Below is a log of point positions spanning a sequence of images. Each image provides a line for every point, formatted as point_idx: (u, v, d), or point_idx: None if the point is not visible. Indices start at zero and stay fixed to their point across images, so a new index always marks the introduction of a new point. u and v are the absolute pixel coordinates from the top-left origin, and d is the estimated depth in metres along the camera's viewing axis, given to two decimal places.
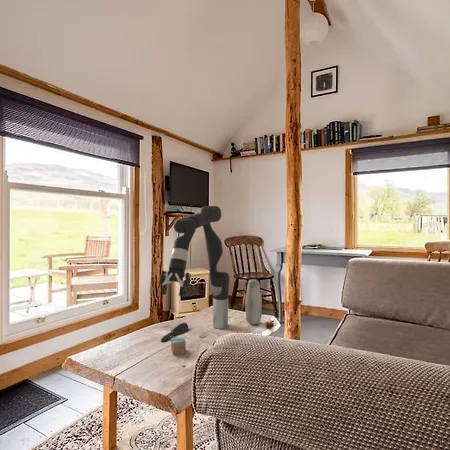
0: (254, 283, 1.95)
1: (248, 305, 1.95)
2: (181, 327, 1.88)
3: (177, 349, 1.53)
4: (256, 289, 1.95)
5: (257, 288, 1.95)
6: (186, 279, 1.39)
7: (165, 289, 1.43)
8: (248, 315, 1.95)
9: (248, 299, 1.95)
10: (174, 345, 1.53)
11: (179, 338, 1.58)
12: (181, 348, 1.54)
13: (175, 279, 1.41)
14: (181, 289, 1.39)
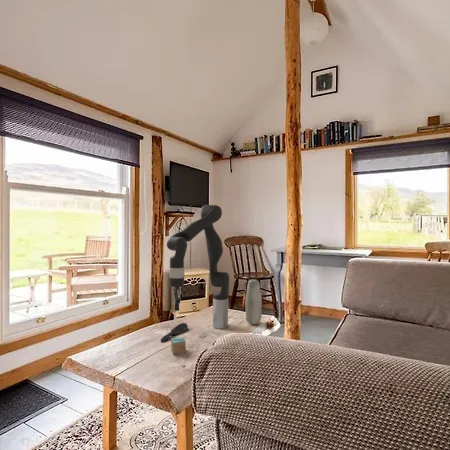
0: (254, 283, 1.95)
1: (248, 305, 1.95)
2: (180, 327, 1.88)
3: (177, 349, 1.53)
4: (256, 289, 1.95)
5: (257, 288, 1.95)
6: (175, 299, 1.56)
7: None
8: (248, 315, 1.95)
9: (248, 299, 1.95)
10: (174, 345, 1.53)
11: (179, 338, 1.58)
12: (181, 348, 1.54)
13: None
14: (175, 305, 1.60)
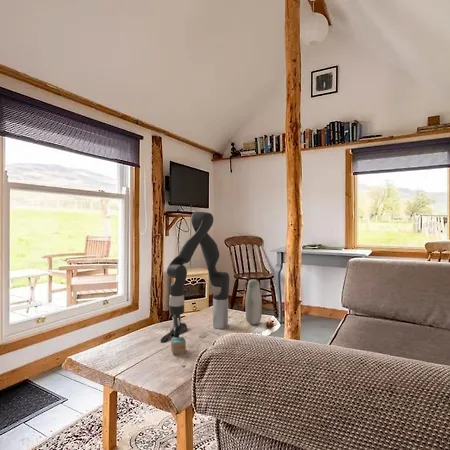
0: (254, 283, 1.95)
1: (248, 305, 1.95)
2: None
3: (177, 349, 1.53)
4: (256, 289, 1.95)
5: (257, 288, 1.95)
6: (175, 327, 1.56)
7: None
8: (248, 315, 1.95)
9: (248, 299, 1.95)
10: (174, 345, 1.53)
11: (179, 338, 1.58)
12: (181, 348, 1.54)
13: None
14: (175, 333, 1.59)
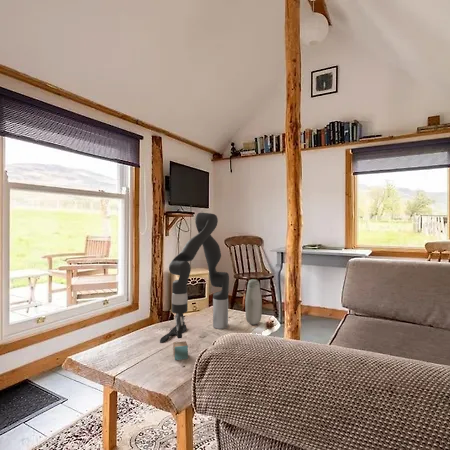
0: (254, 283, 1.95)
1: (248, 305, 1.95)
2: None
3: None
4: (256, 289, 1.95)
5: (257, 288, 1.95)
6: (178, 326, 1.49)
7: None
8: (248, 315, 1.95)
9: (248, 299, 1.95)
10: None
11: (183, 349, 1.48)
12: None
13: None
14: (178, 332, 1.52)
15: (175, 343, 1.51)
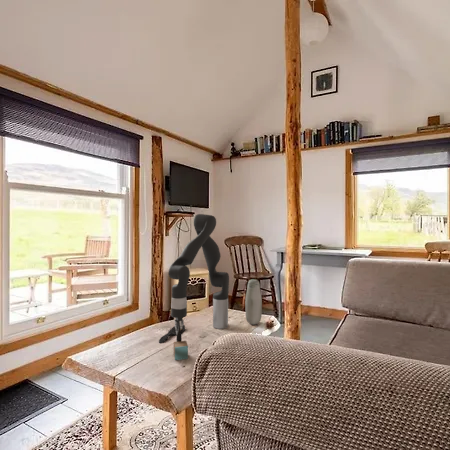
0: (254, 283, 1.95)
1: (248, 305, 1.95)
2: None
3: None
4: (256, 289, 1.95)
5: (257, 288, 1.95)
6: (177, 330, 1.50)
7: None
8: (248, 315, 1.95)
9: (248, 299, 1.95)
10: None
11: (183, 350, 1.47)
12: None
13: None
14: (177, 336, 1.53)
15: (175, 343, 1.51)
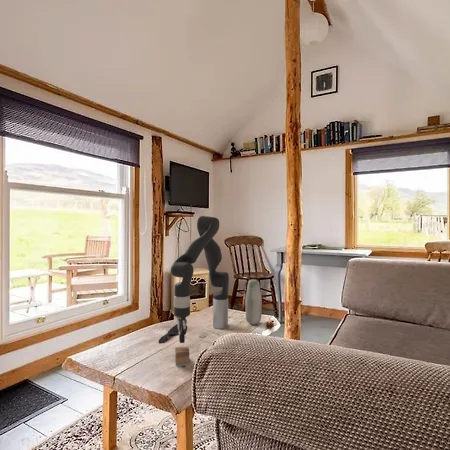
0: (254, 283, 1.95)
1: (248, 305, 1.95)
2: (177, 328, 1.87)
3: None
4: (256, 289, 1.95)
5: (257, 288, 1.95)
6: (181, 330, 1.43)
7: None
8: (248, 315, 1.95)
9: (248, 299, 1.95)
10: None
11: None
12: None
13: None
14: (180, 337, 1.46)
15: (177, 355, 1.41)
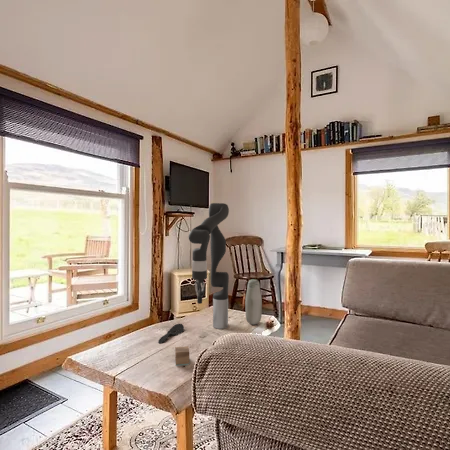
0: (254, 283, 1.95)
1: (248, 305, 1.95)
2: (177, 328, 1.87)
3: None
4: (256, 289, 1.95)
5: (257, 288, 1.95)
6: (199, 292, 1.56)
7: None
8: (248, 315, 1.95)
9: (248, 299, 1.95)
10: None
11: None
12: None
13: None
14: (198, 298, 1.60)
15: (177, 355, 1.41)
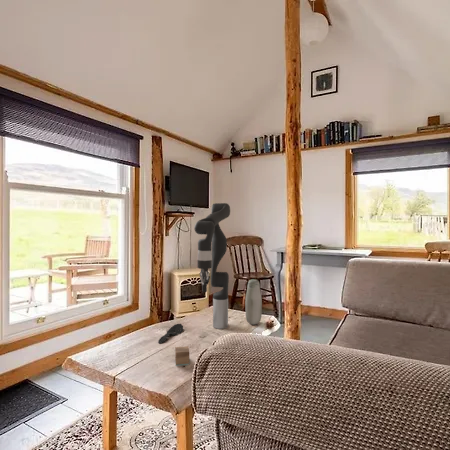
0: (254, 283, 1.95)
1: (248, 305, 1.95)
2: (176, 328, 1.86)
3: None
4: (256, 289, 1.95)
5: (257, 288, 1.95)
6: (204, 280, 1.63)
7: None
8: (248, 315, 1.95)
9: (248, 299, 1.95)
10: None
11: None
12: None
13: None
14: (203, 287, 1.66)
15: (177, 355, 1.41)
